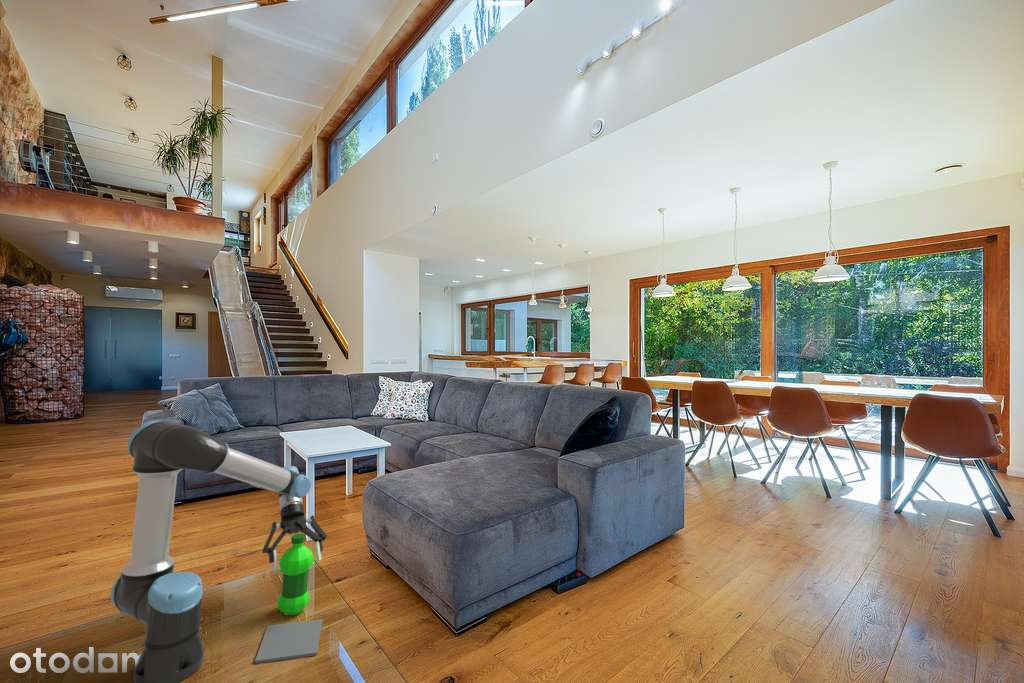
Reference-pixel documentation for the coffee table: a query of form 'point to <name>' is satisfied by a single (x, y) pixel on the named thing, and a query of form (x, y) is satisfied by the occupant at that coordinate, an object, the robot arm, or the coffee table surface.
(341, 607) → the coffee table surface
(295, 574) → the plastic bottle
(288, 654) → the rubber coaster
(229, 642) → the coffee table surface
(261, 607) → the coffee table surface
